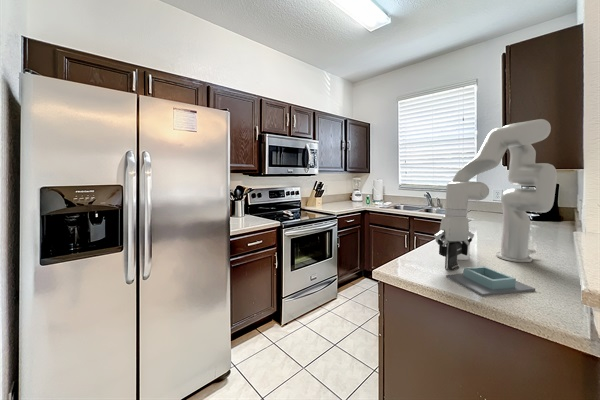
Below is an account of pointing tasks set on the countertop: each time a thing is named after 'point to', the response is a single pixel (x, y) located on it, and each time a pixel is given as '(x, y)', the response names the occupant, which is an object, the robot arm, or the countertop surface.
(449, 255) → the black hard case
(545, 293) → the countertop surface
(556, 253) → the countertop surface
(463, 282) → the charging dock
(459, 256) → the jar
